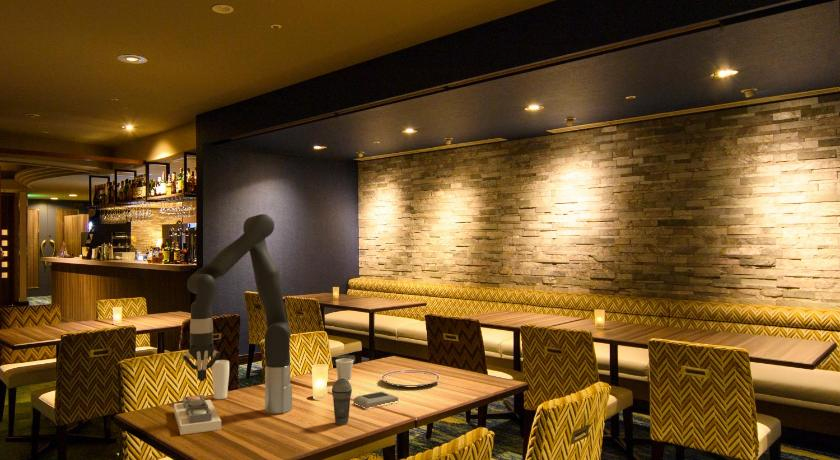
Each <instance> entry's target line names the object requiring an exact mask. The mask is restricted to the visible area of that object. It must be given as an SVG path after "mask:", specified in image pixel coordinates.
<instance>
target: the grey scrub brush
mask: <svg viewBox="0 0 840 460" xmlns="http://www.w3.org/2000/svg"><path fill="white" fill-rule="evenodd" d="M395 401H398V402H399V397H398V396H395V395H392V394H390V393H387V392H385V391H378V392H372V393H367V394H361V395H357V396H356V397H354V399H353V404H354V403H356V404H358V405H360V406H363V407H365V408H369V407H373V406H377V405H381V404H385V403H390V402H395Z"/></svg>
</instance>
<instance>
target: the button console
mask: <svg viewBox="0 0 840 460" xmlns="http://www.w3.org/2000/svg"><path fill="white" fill-rule="evenodd" d="M192 396H193V395H190V396H183V397H182V402H178V403H173V413H174V416H175V421H176V425H177V426H178V431H179V435H180V436H182V435H191V434H198V433H199V434H200V433H207V432H213V431H221V430H222V419H221V418H220V416H219V414H218V412H217V410H216V407H215V405H214V404H213V402H212V400H211V399H206V398H205V396H204V394H200V395H197V396H199V397H200V399H203V406H199V407H191V408H190V401H191V400H190V401H187V398H188V397H192ZM196 410H207V413H205V414H197V415H193V411H196Z"/></svg>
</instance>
